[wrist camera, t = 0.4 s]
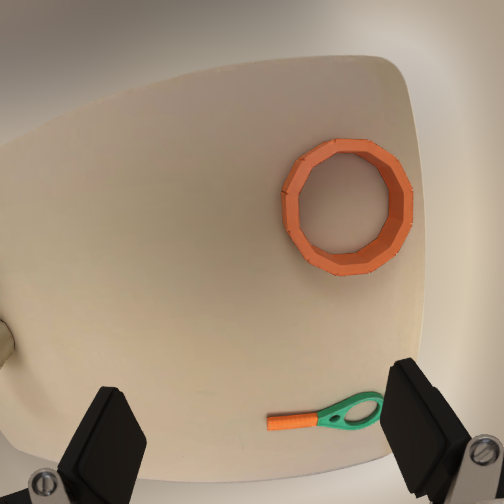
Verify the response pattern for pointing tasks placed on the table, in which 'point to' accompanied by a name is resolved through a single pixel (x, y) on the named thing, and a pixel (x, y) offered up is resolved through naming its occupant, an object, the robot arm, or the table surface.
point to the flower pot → (5, 343)
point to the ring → (392, 229)
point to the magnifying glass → (324, 416)
